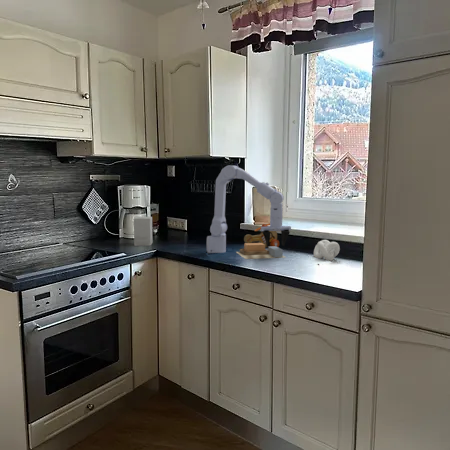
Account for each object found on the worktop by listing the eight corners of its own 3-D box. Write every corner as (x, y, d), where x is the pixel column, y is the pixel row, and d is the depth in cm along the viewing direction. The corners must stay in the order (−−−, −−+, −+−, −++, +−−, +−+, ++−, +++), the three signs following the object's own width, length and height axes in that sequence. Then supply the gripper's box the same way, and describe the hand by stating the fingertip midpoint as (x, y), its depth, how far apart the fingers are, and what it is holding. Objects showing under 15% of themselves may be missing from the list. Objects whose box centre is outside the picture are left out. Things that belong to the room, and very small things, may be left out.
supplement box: (153, 243, 237) (152, 216, 235) (150, 246, 228) (150, 218, 226) (136, 242, 237) (136, 216, 235) (133, 245, 228) (133, 218, 226)
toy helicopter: (281, 248, 227) (281, 222, 225) (249, 251, 216) (249, 225, 214) (271, 245, 233) (272, 221, 232) (240, 249, 223) (240, 223, 221)
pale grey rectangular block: (274, 257, 198) (274, 250, 198) (268, 253, 207) (268, 246, 206) (282, 257, 199) (282, 249, 199) (275, 253, 208) (275, 246, 207)
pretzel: (306, 258, 201) (307, 240, 200) (323, 256, 208) (324, 237, 207) (325, 263, 192) (326, 243, 191) (342, 260, 199) (343, 241, 198)
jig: (245, 261, 194) (245, 255, 193) (235, 253, 210) (235, 248, 210) (286, 259, 199) (286, 254, 198) (273, 252, 215) (273, 247, 215)
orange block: (247, 254, 204) (247, 245, 204) (244, 252, 209) (244, 243, 208) (264, 253, 206) (264, 244, 206) (261, 251, 211) (261, 242, 211)
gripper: (264, 218, 195) (263, 247, 197) (293, 218, 198) (293, 246, 200) (259, 217, 202) (259, 245, 203) (288, 216, 205) (287, 244, 207)
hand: (275, 245), depth 202 cm, fingers open, 7 cm apart
